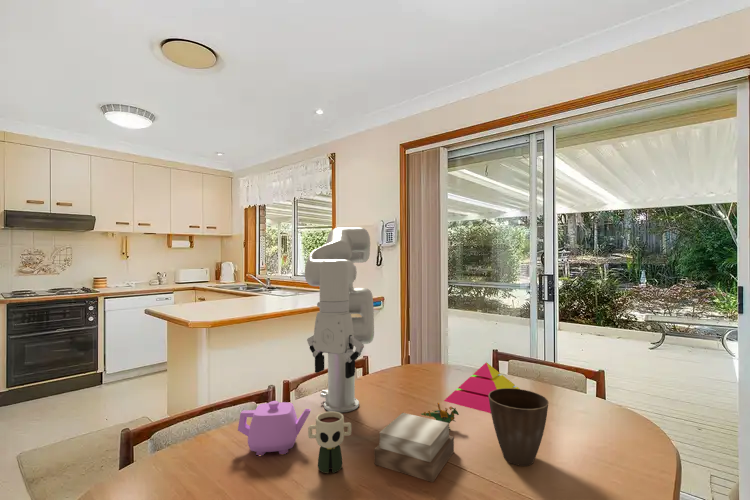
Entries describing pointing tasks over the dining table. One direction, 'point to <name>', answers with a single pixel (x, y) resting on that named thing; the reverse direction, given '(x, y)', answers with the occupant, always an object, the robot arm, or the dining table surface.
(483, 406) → the pyramid toy
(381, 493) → the dining table surface
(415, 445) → the grey stacked block
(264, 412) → the teapot
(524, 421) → the plant pot
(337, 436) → the character mug
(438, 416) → the figurine
